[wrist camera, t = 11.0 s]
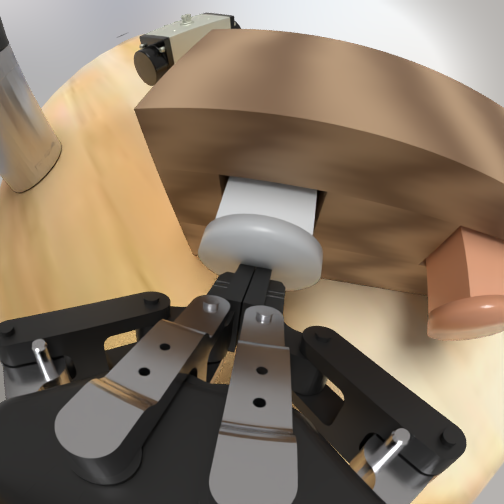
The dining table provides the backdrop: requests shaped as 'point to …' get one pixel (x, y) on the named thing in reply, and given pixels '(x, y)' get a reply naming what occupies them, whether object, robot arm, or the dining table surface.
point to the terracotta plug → (466, 286)
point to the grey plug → (265, 232)
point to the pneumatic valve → (175, 43)
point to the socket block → (330, 146)
